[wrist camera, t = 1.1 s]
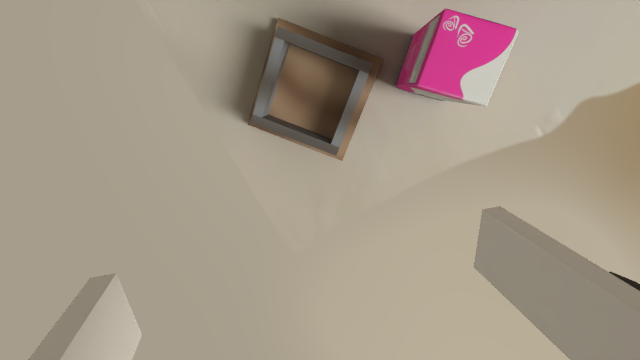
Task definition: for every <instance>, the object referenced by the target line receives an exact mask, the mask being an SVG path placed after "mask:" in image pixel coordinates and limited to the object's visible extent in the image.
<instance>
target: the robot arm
mask: <svg viewBox="0 0 640 360" xmlns="http://www.w3.org/2000/svg"><path fill="white" fill-rule="evenodd" d="M474 268H475V269H476V270H477V271H479V273H480V274H482V275H483V276H484V277H485V278H486V279H487V280H488V281H489V282H490V283H491V284H492V285H493V286H494V287H495V288H496V289H497V290H498V291H499V292H500V293H501V294H502V295H503V296H504V297H506V298H507V299H508V300H509V301H510V302H511V303H512V304H513V305H514V306H515V307H516V308H517V309H518V310H519V311H520V312H521V313H522V314H523V315H524V316H525V317H526V318H527V319H528V320H530V321H531V322H532V323H533V324H534V325H535V326H536V327H537V328H538V329H539V330H540V331H541V332H542V333H543V334H544V335H545V336H546V337H547V338H548V339H549V340H550V341H551V342H552V343H554V345H556V346H557V347H558V348H559V349H560V350H561V351H562V352H563V353H564V354H565V355H566V356H567V357H568V358H569V359H570V360H640V284H638V283H637V282H634V281H632V280H629V279H627V278H625V277H622V276H620V275H617V274H615V273H612V272H607V271H606V270H604V269H602V268H601V267H599V266H597V265H596V264H594V263H593V262H591V261H589V260H588V259H586V258H584V257H583V256H581V255H579V254H578V253H576V252H574V251H573V250H571V249H569V248H568V247H566V246H565V245H563V244H561V243H560V242H558V241H556V240H555V239H553V238H551V237H550V236H548V235H546V234H545V233H543V232H541V231H540V230H538V229H537V228H535V227H533V226H532V225H530V224H528V223H527V222H525V221H523V220H522V219H520V218H518V217H517V216H515V215H513V214H512V213H510V212H508V211H507V210H505V209H504V208H502V207H500V206H499V207H494V208H488V209H483V210H482V216H481V223H480V229H479V236H478V242H477V249H476V256H475V262H474ZM141 336H142V334H141V332H140V329H139V327H138V325H137V322H136V320H135V317H134V315H133V312H132V310H131V308H130V305H129V303H128V301H127V298H126V296H125V294H124V291H123V289H122V286H121V284H120V281H119V279H118V277H117V274H116V273H115V274H110V275H104V276H99V277H93V278H90V279H89V280H88V282H87V283H86V284H85V285H84V287H83V288H82V289H81V291H80V292H79V293H78V295H77V296H76V297H75V299H74V300H73V301H72V303H71V304H70V305H69V307H68V308H67V309H66V311H65V312H64V313H63V315H62V316H61V317H60V319H59V320H58V321H57V322H56V324H55V325H54V326H53V328H52V329H51V330H50V332H49V333H48V334H47V336H46V337H45V338H44V340H43V341H42V342H41V344H40V345H39V346H38V347H37V349H36V350H35V352H34V353H33V354H32V355H31V357H30V358H29V359H28V360H132V358H133V356H134V353H135V351H136V349H137V346H138V343H139V341H140V339H141Z"/></svg>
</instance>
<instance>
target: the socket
mask: <svg viewBox="0 0 640 360" xmlns="http://www.w3.org/2000/svg"><path fill="white" fill-rule="evenodd" d="M382 62H383V59H381V58H379V57H376V56H374V55H371V54H369V53H366V52H364V51H361V50H359V49H356V48H353V47H351V46H348V45H346V44H343V43H341V42H338V41H336V40H333V39H331V38H328V37H326V36H323V35H321V34H318V33H315V32H313V31H310V30H308V29H305V28H303V27H300V26H298V25H295V24H293V23H290V22H288V21H285V20H282V19H280V18H278V20H277V23H276V27H275V31H274V34H273V38H272V41H271V45H270V48H269V52H268V55H267V59H266V62H265V66H264V69H263V73H262V76H261V80H260V83H259V87H258V90H257V94H256V98H255V101H254V105H253V108H252V112H251V115H250V119H249V122H248V125H251V126H253V127H256V128H259V129H261V130H264V131H266V132H269V133H272V134H274V135H277V136H279V137H282V138H285V139H287V140H290V141H292V142H295V143H298V144H300V145H303V146H305V147H308V148H311V149H313V150H316V151H318V152H321V153H324V154H326V155H329V156H331V157H334V158H337V159H339V160H342V159H343V157H344V155H345V152H346V150H347V147H348V145H349V142H350V140H351V137H352V135H353V133H354V130H355V128H356V125H357V123H358V120H359V118H360V115H361V113H362V110H363V108H364V106H365V103H366V101H367V98H368V96H369V93H370V91H371V88H372V86H373V84H374V81H375V79H376V76H377V74H378V71H379V69H380V66H381V64H382Z"/></svg>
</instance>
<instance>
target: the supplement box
mask: <svg viewBox="0 0 640 360" xmlns="http://www.w3.org/2000/svg"><path fill="white" fill-rule="evenodd" d="M518 33H519V30H518V29H516V28H512V27H509V26H506V25H502V24H499V23H495V22H492V21H488V20H485V19H481V18H477V17H474V16H471V15H467V14H463V13H460V12H456V11H453V10H449V9H444V10H443V11H442V12H440V13H439V14H438V15H437V16H436V17H434V18H433V19H432V20H431V21H430V22H428V23H427V24H426V25H425V26H424V27H422V28H421V29H420V30H419V31H418V32H416V33H415V34H414V35H413V37H412V40H411V43H410V46H409V49H408V51H407V54H406V57H405V60H404V63H403V66H402V69H401V72H400V74H399V77H398V80H397V83H396V87H398V88H400V89H403V90H406V91H409V92H412V93H416V94H419V95H422V96H426V97H430V98H433V99H437V100H441V101H451V102H458V103H465V104H473V105H480V106H487V104H488V102H489V100H490V97H491V95H492V92H493V90H494V88H495V85H496V83H497V81H498V78H499V76H500V74H501V71H502V69H503V66H504V64H505V62H506V60H507V57H508V55H509V53H510V51H511V48H512V46H513V44H514V42H515V39H516V37H517V35H518Z"/></svg>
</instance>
